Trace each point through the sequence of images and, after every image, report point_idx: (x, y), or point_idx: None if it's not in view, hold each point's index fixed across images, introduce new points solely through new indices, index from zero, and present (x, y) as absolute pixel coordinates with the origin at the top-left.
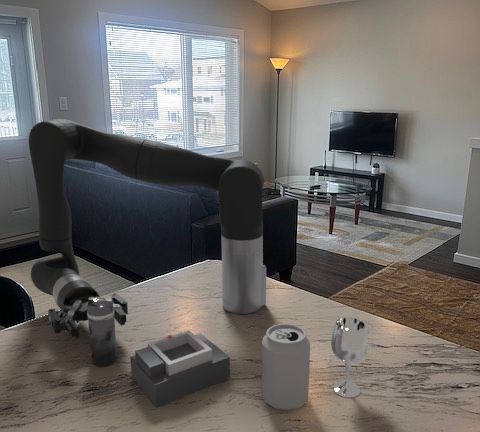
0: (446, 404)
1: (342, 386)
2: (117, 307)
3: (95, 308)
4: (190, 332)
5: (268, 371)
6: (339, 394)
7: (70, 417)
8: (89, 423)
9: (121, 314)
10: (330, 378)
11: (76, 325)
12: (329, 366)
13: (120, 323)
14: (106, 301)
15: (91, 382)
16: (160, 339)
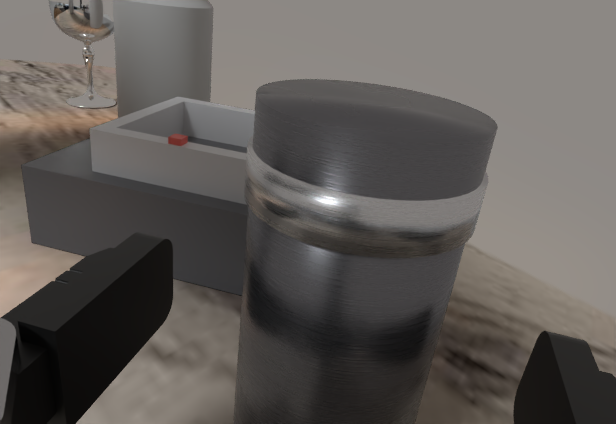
0: (80, 70)
1: (95, 97)
2: (4, 327)
3: (433, 106)
4: (105, 124)
5: (209, 57)
6: (113, 103)
7: (571, 319)
8: (519, 277)
9: (150, 237)
10: (64, 110)
11: (558, 356)
12: (17, 111)
13: (161, 312)
14: (281, 101)
15: (456, 394)
16: (209, 152)
